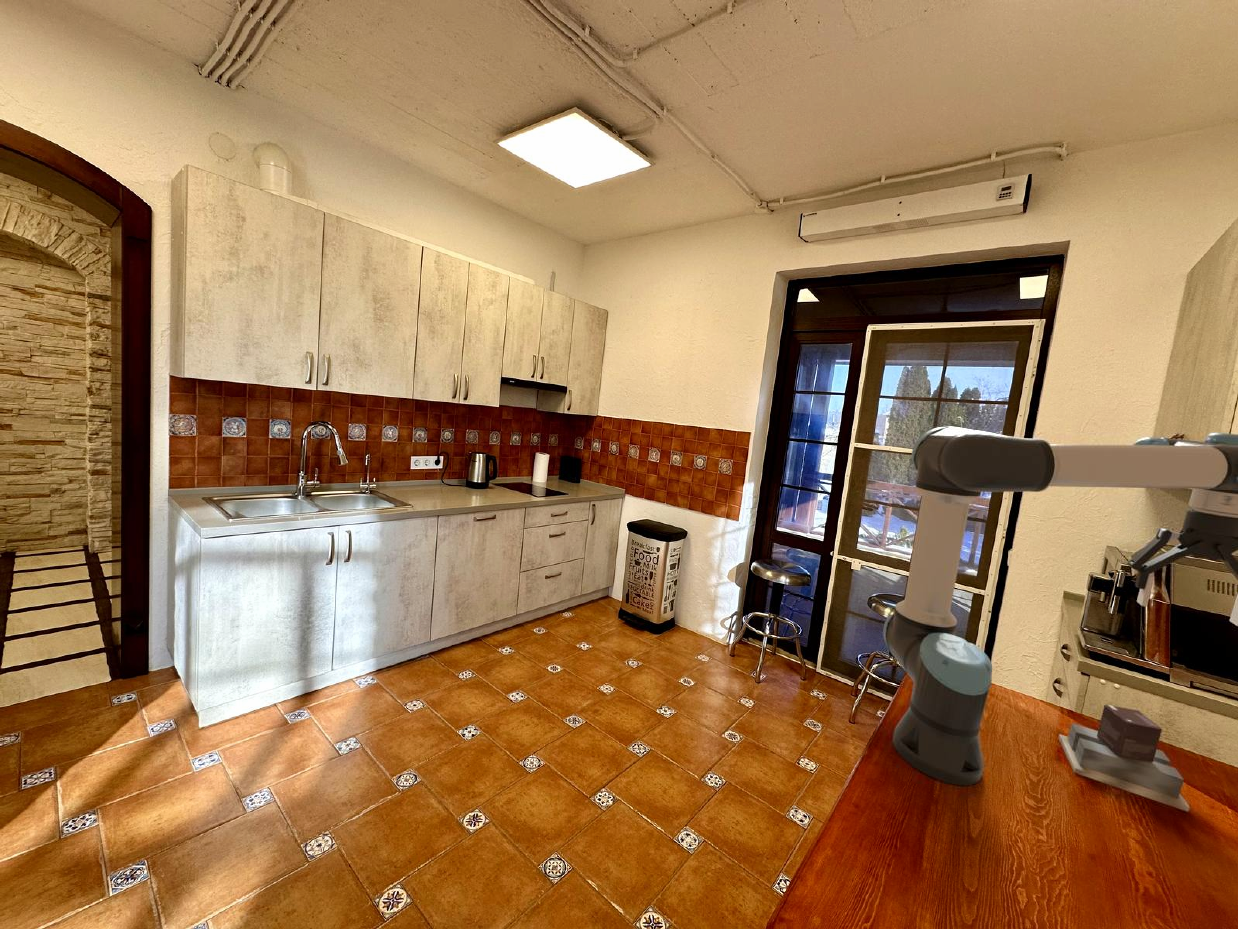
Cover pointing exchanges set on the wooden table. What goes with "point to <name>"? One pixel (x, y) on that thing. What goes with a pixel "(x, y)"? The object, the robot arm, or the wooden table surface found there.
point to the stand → (1123, 768)
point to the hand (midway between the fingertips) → (1187, 614)
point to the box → (1129, 733)
